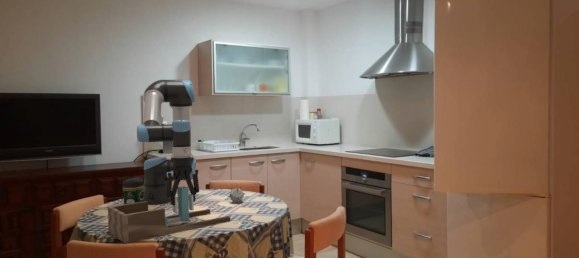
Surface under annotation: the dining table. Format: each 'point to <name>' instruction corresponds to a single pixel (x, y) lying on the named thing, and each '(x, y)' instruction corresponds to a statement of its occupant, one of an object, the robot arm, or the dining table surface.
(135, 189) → the coffee jar
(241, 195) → the game die
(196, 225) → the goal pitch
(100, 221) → the dining table surface
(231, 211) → the dining table surface
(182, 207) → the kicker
